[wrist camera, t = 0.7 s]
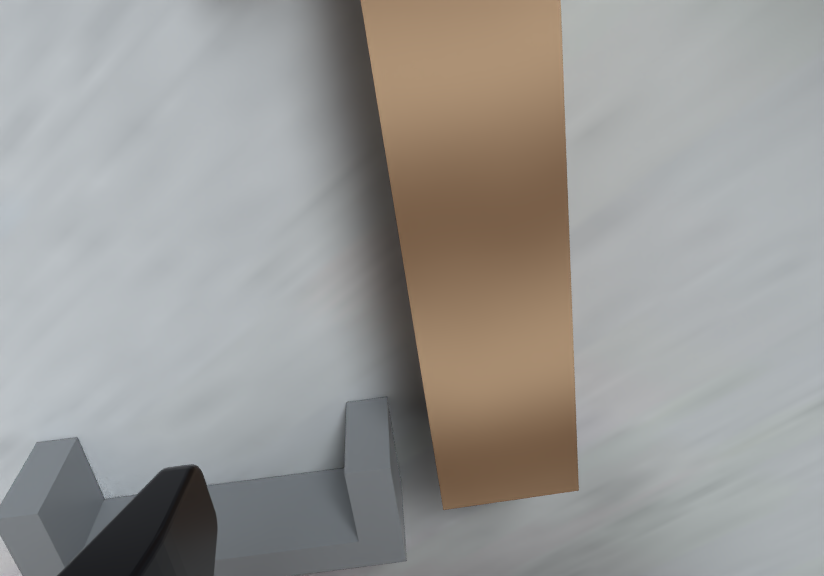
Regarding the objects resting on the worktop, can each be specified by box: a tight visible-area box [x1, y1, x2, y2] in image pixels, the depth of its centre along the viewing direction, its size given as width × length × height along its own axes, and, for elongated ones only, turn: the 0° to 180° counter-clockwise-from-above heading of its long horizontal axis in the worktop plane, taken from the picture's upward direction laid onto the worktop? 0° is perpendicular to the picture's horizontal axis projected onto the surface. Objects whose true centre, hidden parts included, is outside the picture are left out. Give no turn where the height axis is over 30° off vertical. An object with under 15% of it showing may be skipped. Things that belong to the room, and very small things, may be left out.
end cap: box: [0, 397, 407, 576], centre depth 21 cm, size 4×10×3 cm, turn 97°
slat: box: [361, 0, 579, 510], centre depth 17 cm, size 16×4×4 cm, turn 8°
